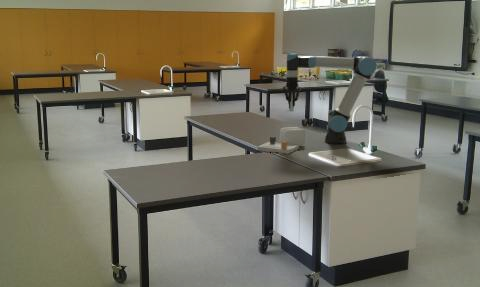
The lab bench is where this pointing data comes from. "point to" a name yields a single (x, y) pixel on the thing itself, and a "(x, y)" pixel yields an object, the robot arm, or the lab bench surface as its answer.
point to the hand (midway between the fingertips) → (291, 111)
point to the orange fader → (284, 145)
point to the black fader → (272, 139)
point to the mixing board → (277, 147)
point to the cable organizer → (292, 136)
